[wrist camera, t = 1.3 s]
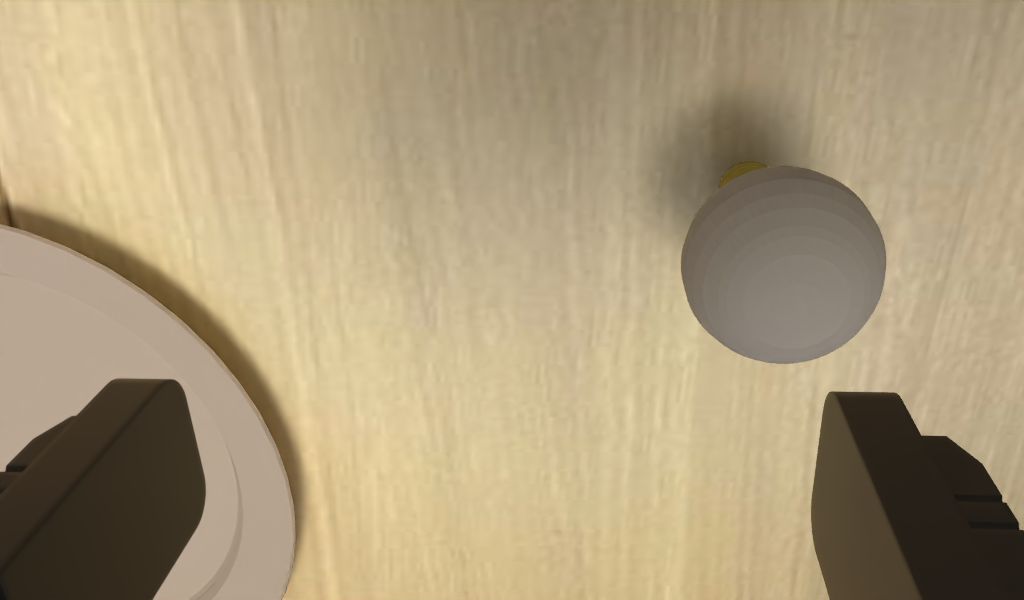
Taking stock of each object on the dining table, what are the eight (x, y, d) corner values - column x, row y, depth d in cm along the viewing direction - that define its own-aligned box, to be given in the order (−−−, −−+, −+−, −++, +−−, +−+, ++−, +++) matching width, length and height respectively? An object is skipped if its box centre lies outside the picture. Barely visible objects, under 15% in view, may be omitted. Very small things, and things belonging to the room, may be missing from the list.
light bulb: (824, 96, 30) (915, 194, 21) (826, 245, 32) (909, 392, 23) (660, 117, 31) (681, 221, 22) (673, 262, 33) (697, 409, 24)
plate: (-264, 544, 45) (-301, 573, 43) (-230, 83, 34) (-277, 95, 32) (215, 734, 47) (199, 768, 46) (393, 365, 36) (382, 391, 35)
